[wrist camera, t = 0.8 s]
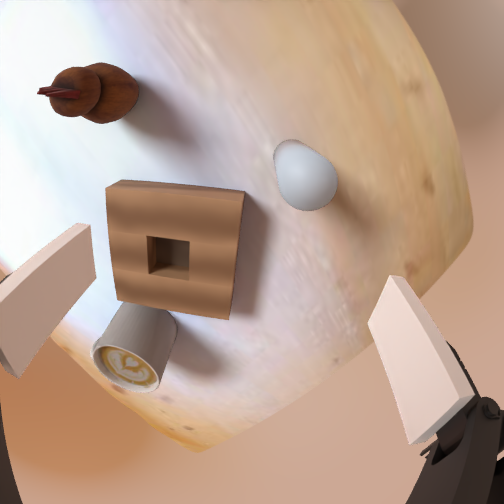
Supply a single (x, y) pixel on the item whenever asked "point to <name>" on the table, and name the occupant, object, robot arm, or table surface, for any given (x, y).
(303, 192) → the peg
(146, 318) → the coffee mug
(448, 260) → the table surface
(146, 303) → the bore block
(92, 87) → the wooden figurine
